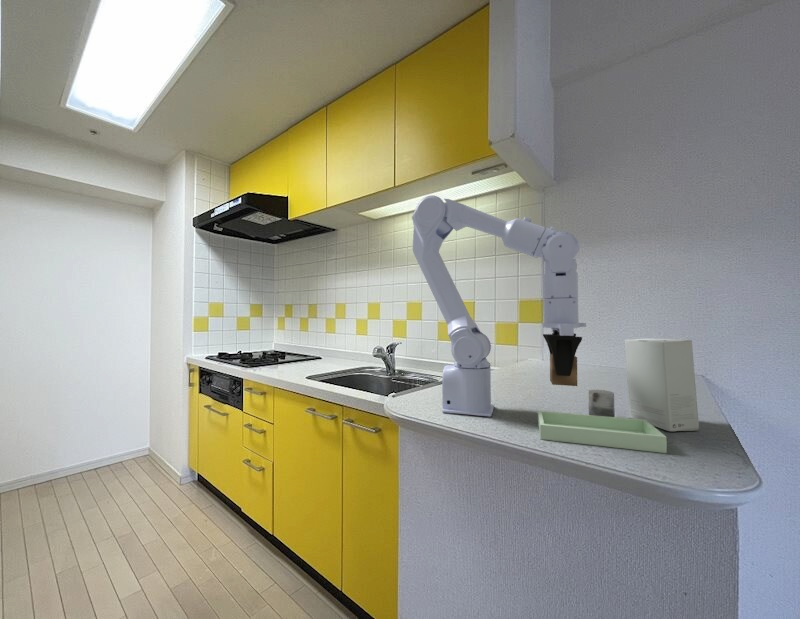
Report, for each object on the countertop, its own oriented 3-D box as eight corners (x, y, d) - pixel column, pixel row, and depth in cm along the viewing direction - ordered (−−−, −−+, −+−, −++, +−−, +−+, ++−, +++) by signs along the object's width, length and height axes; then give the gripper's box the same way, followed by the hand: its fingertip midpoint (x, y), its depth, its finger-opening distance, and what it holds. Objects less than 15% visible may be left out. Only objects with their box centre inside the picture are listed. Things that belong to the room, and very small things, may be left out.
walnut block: (552, 384, 59) (552, 356, 59) (550, 380, 63) (549, 354, 63) (577, 386, 58) (577, 357, 58) (573, 381, 62) (573, 354, 62)
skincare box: (700, 431, 54) (697, 340, 54) (667, 433, 53) (665, 340, 54) (653, 415, 62) (652, 336, 63) (625, 417, 62) (623, 337, 62)
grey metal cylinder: (591, 421, 59) (590, 393, 59) (587, 415, 63) (586, 389, 63) (617, 424, 58) (616, 395, 58) (611, 417, 62) (611, 390, 62)
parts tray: (540, 439, 51) (540, 424, 51) (538, 423, 59) (537, 410, 59) (666, 453, 46) (666, 437, 46) (646, 433, 53) (645, 419, 53)
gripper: (594, 296, 53) (595, 382, 52) (577, 300, 66) (578, 368, 66) (545, 297, 55) (547, 379, 55) (539, 300, 69) (540, 366, 68)
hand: (561, 373), depth 61 cm, fingers closed on walnut block, 4 cm apart
